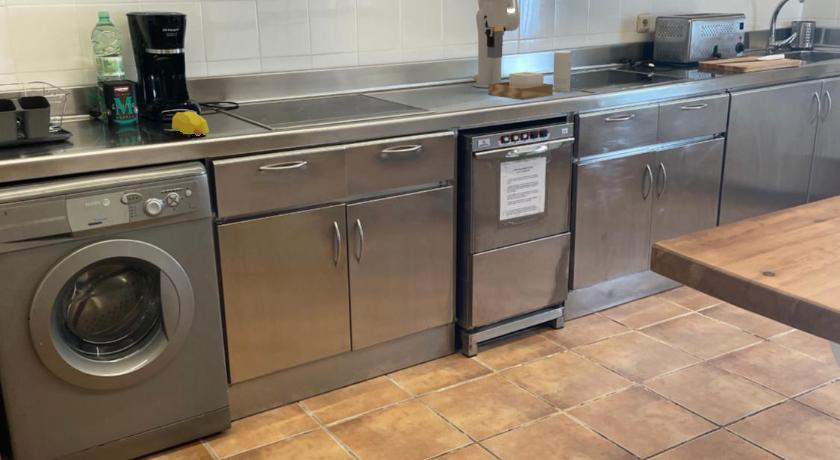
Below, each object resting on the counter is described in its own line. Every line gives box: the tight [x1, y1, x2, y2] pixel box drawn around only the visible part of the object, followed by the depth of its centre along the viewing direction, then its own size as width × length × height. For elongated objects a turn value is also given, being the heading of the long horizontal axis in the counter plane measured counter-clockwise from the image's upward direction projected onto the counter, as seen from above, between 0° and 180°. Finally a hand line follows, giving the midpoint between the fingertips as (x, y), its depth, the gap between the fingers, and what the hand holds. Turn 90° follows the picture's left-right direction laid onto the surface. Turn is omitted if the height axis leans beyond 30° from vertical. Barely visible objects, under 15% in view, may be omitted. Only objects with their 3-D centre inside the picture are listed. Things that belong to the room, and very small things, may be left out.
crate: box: [488, 81, 554, 101], centre depth 310 cm, size 18×16×5 cm
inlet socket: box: [508, 71, 545, 88], centre depth 309 cm, size 9×9×8 cm
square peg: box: [487, 25, 504, 59], centre depth 313 cm, size 4×4×12 cm
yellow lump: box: [171, 110, 210, 135], centre depth 248 cm, size 18×7×8 cm
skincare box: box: [553, 50, 572, 93], centre depth 319 cm, size 8×7×16 cm
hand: (494, 45), depth 314 cm, fingers closed on square peg, 4 cm apart
